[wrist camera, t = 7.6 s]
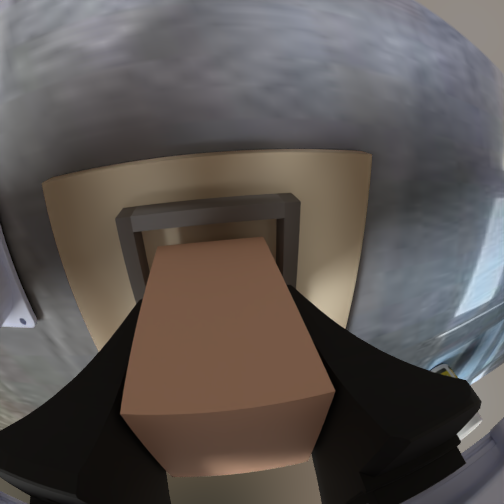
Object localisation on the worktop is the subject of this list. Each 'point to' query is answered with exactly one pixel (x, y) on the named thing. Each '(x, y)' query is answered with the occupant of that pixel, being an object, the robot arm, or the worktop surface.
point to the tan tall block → (223, 364)
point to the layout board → (210, 222)
